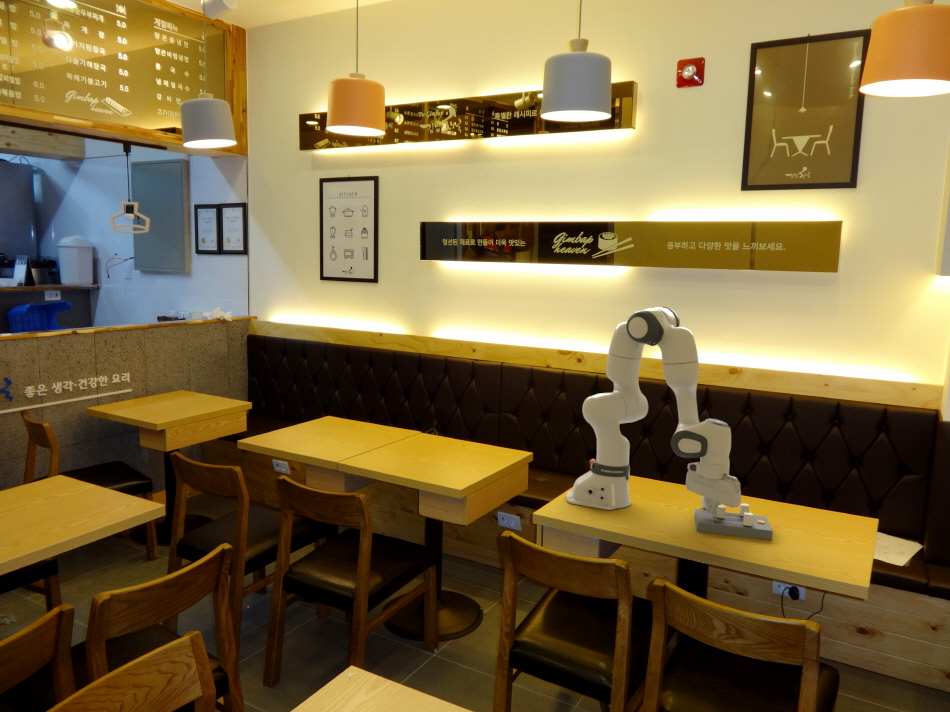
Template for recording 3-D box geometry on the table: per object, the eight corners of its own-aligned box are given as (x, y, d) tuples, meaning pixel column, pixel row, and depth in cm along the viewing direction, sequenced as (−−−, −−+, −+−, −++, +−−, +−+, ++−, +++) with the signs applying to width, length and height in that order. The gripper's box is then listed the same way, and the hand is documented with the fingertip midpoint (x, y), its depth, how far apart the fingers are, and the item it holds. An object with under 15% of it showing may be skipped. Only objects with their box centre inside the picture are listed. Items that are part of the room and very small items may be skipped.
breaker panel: (696, 531, 219) (697, 521, 219) (694, 517, 232) (695, 507, 232) (771, 540, 214) (772, 529, 214) (765, 525, 227) (765, 515, 226)
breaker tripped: (716, 517, 223) (717, 506, 222) (716, 515, 225) (717, 505, 224) (724, 518, 222) (725, 507, 222) (724, 516, 224) (724, 505, 224)
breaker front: (743, 525, 217) (744, 514, 216) (743, 523, 219) (744, 512, 218) (752, 526, 216) (753, 515, 216) (751, 523, 218) (752, 513, 218)
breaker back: (740, 515, 225) (741, 505, 225) (739, 513, 227) (740, 503, 227) (748, 516, 225) (749, 506, 224) (747, 514, 227) (748, 504, 226)
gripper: (747, 478, 215) (744, 521, 216) (698, 461, 233) (695, 501, 234) (732, 480, 212) (729, 524, 213) (683, 463, 230) (681, 503, 231)
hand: (711, 512), depth 224 cm, fingers closed
